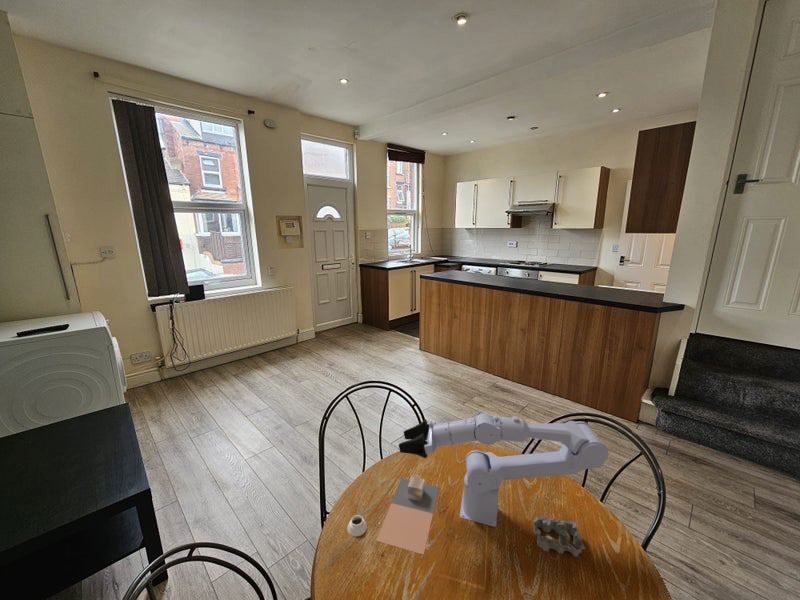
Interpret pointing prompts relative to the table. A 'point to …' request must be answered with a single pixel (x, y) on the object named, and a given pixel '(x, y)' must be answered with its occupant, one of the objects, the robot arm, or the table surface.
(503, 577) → the table surface
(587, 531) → the table surface
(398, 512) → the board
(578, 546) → the egg carton
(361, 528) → the white jar
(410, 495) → the cream block
